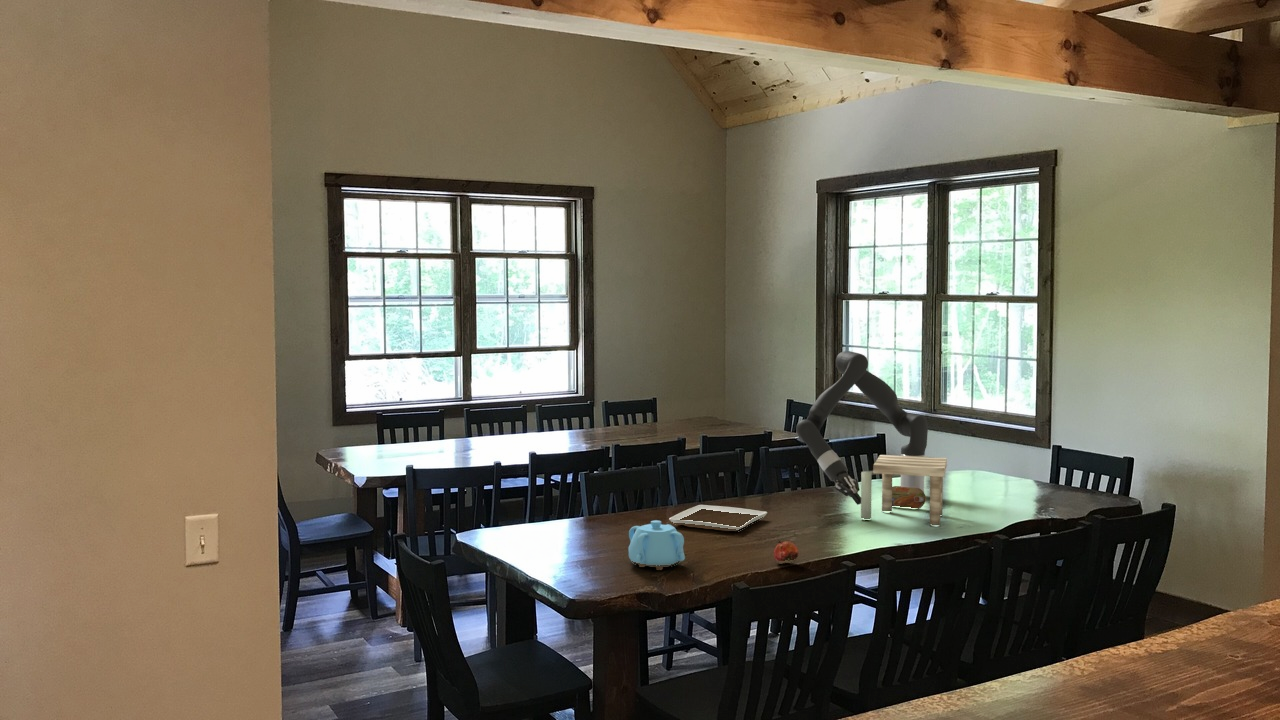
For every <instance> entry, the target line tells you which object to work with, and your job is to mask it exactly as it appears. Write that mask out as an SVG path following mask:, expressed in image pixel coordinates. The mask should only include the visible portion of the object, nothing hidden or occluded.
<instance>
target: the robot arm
mask: <svg viewBox="0 0 1280 720" xmlns="http://www.w3.org/2000/svg"><path fill="white" fill-rule="evenodd" d="M868 360H869V359H868V358H867V356H866V355H865V354H862V353H858V352H854V351H851V350H845V351H841V352H840V353H838V354H837V356H836V358H835V366H836V369H837V370H838V372H839V373H840V374H841V375H842V376H841V377H840V378H839V379H838V380H836V382H835V383H834V384H832V385H831V386H829V387H828V388H827V389H825V391H823V392H822V393H821V394H820V395H819V396H818V397H817V399H816V400H815V402H814V403H813V404H812V405H811V407H810V409H809V413H808V415H807V418H806V419H801V420H800V421H798V422H797V424H796V427H795V428H796V433H797V436H798V439H799V440H801V442H803V443H805V444H806V446H807V448H808V449H809V451H810V453H811V455H812V456H813V457H814V459H815V460H816V461H817V463H818V465H819V466H820V468H821V469H822V471H823V473H824V474H825V475H826V476H827V477H828V479H829V480H830V482H834V483H835V485H834V490H837V491H838V492H839V493H840V494H842V495H844V496H846V497H850V498H851V499H852V500H853V501H854V502H855V504H856V505H857V506H858V505H861V495H860V494H859V491H861V488H860V486H859V480H858V478H852V477H851V476H850V474H848V467H847V466H846V464H845V463H844V462H843V461H842V459H841V458H840V457H839V456H838V454H837V453H836V452H835V451H834V450H833V449H832V448H831V446H830V445H829V443H828V442H827V441H826V440H825V438H824V437H823V435H822V434H821V432H820V431H821V429H822V427H823V425H824V423H825V421H826V420H827V419H828V417H829V415H830V414H831V413H832V411H833V410H834V408H835V407H836V405H838V403H839V402H840V400H841V399H842V398H843V397H844V396H845V395H846V394H847V393H848V392H849V391H850V390H851V389H852V388H853V386H854V385H855V386H856V387H857V389H859V390H860V392H861V393H862V394H863V395H864V396H865V397H866V398H867V399H868V400H869V402H870V403H872V404H873V405H874V407H876V408H877V409H878V410H879V411H880V412H881V413H882V414H883V415H884V416H885V417H886V418H887V419H888V420H889V422H890V423H891V425H893V427H894V428H895V429H896V431H897V432H898V433H899V434H900V435H902V436H904V437H908V438H909V442H908V444H904V445H902V446H901V448H900V456H917V457H926V449H927V446H928V432H929V426H928V421H927V418H926V417H925V416H924V415H921V414H915V413H909V412H907V411H905V410H904V409H903V408H902V407H901V406H900V405H899V403H898V396H897V393H896V392H895V391H894V390H893V388H892V387H891V386H889V384H888V383H886V382H885V381H884V379H883V380H882V379H881V378H879V377H878V376H877V375H876V374H874V373H872V372H870V371H868V367H869V361H868ZM900 486H903V487H917V488H919V489H921V490H922V491H923V492H924V493H925V476H915V475H900Z"/></svg>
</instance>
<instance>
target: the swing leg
mask: <svg viewBox="0 0 1280 720" xmlns="http://www.w3.org/2000/svg"><path fill="white" fill-rule="evenodd" d="M860 475H861V476H860V477H861V479H860V482H861V483H860V485H861V486H860V497H861V504H860V519H861V518H864V519H870V518H871V519H872V482H873V481H872V477H873V475H875V476H876V475H877V474H876V473H873V470H868V471H865V470H864V471H861V473H860Z"/></svg>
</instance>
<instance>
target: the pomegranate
mask: <svg viewBox="0 0 1280 720" xmlns="http://www.w3.org/2000/svg"><path fill="white" fill-rule="evenodd" d="M777 543H778V544H777V545H776V546H775V548H774V551H773V558H774V561H775V560H778V561H785V560H788V561H790V560H794V559H795V560H797V559H798V557H799V554H800V552H799V549H798V547H797V546H796V545H795V544H794V543H793V542H792V541H788V540H787V541H786V540H785V541H783V542H781V540H778V541H777ZM795 560H794V561H795Z"/></svg>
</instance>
